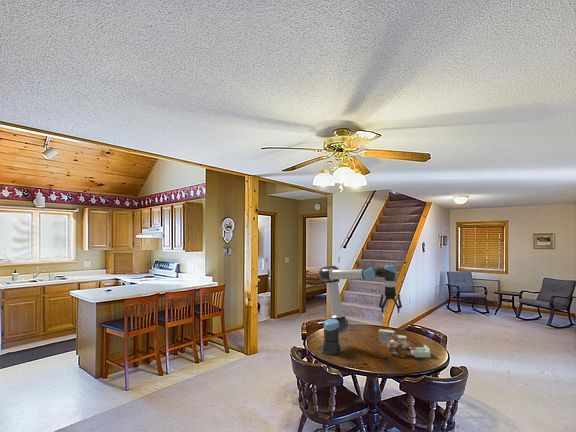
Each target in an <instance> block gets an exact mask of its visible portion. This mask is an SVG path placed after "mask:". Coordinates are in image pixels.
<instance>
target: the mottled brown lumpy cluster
mask: <svg viewBox="0 0 576 432" xmlns="http://www.w3.org/2000/svg"><path fill="white" fill-rule="evenodd" d="M411 342H412V341H408V340H407V341H395V343H391V342H390V341H389V340H388V341H387V347H386V348H387V352H389V353H393V352H395V348H394V347H398V345H402V347H407V348H408V349H409V350H410V351H411V350H416V348H415V346H413V345H414V343H411Z"/></svg>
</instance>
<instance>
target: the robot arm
mask: <svg viewBox="0 0 576 432" xmlns="http://www.w3.org/2000/svg"><path fill="white" fill-rule="evenodd" d="M318 277H319V278H320V280H321V281H323V282H325V284H326V285H327V289H328V295H329V301H330V308H331V309H330V310H331V316H330V318H329V319H326V320H324V322H323V342H322V343H323V344H322V346H321V352H322V354H325V355H329V356H330V355H331V356H338V355H340V354H342V347H341V342H340V335H342V334H343V333H345V332H347V330H348V329H349V326H350V325H349V324H350V323H349V321H348V319H347V318H346V315H345V314H344V313H343V306H342V300H341V293H340V289H339V287H340V286H339V283H340V280H368V281H369V280H373V279H376V278H382V279H384V293H380V299H379V303H378V307H379V308H380V310H381V313H382V318H384V319H385V317H386V312H385V306H386V304H387V302H388V301H389V300H393V302H394V305H395V306H396V308H395V317H396V318H397V319H399V313H400V309H401V308H403V306H402V301H401V294H399V293H396V266H395V265H392V264H388V265H387V264H386V265H384V267H379V266H378V267H377V266H370V267H369V268H345V269H344V268H342V269H341V268H339V267H337V266H336V265H327V266H323V267H321V268H320V269H319V272H318ZM384 297H385V298H384ZM396 298H397V300H396ZM383 299H384V300H383Z"/></svg>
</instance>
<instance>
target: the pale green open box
mask: <svg viewBox="0 0 576 432" xmlns="http://www.w3.org/2000/svg"><path fill="white" fill-rule="evenodd" d="M414 347H415V346H414ZM415 348H416V350H410V354H411V355H412V356H413V357H415V358H419V359H420V358H423V359H424V358H429V359H430V358H431V348H429V347H428V346H427V345H426V344H423V347H418V346H417V347H415Z"/></svg>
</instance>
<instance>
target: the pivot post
mask: <svg viewBox="0 0 576 432" xmlns="http://www.w3.org/2000/svg"><path fill="white" fill-rule="evenodd" d="M392 353H393V354H394V355H395V357H396V358H405V354H404V353H403V350H402V345H398V347H396V348H395V351H394V352H392Z"/></svg>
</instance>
